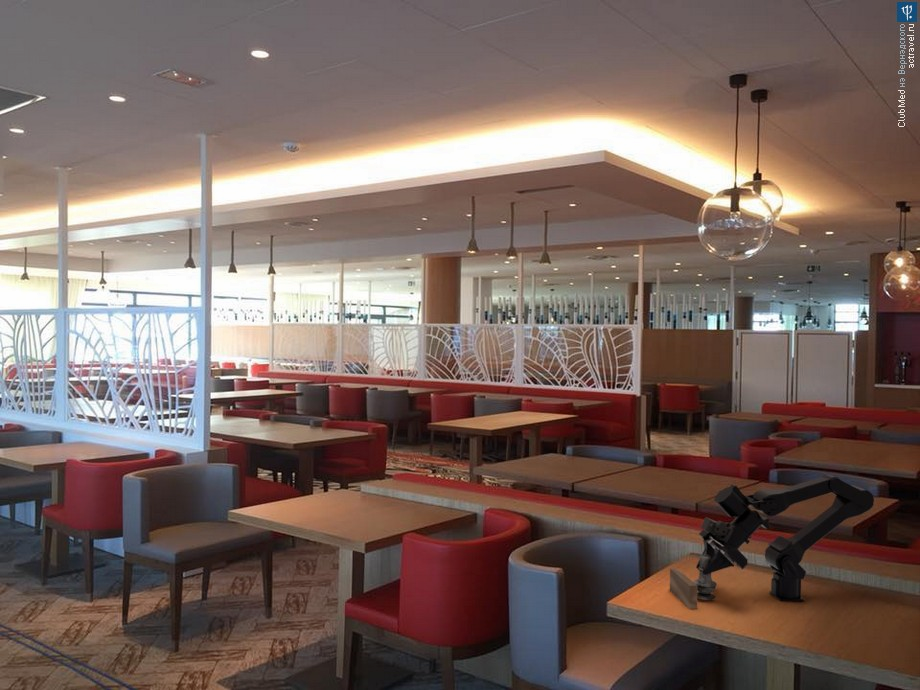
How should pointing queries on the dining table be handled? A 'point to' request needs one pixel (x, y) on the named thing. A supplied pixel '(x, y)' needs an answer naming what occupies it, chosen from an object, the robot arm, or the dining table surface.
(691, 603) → the walnut board
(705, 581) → the salt shaker
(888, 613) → the dining table surface
